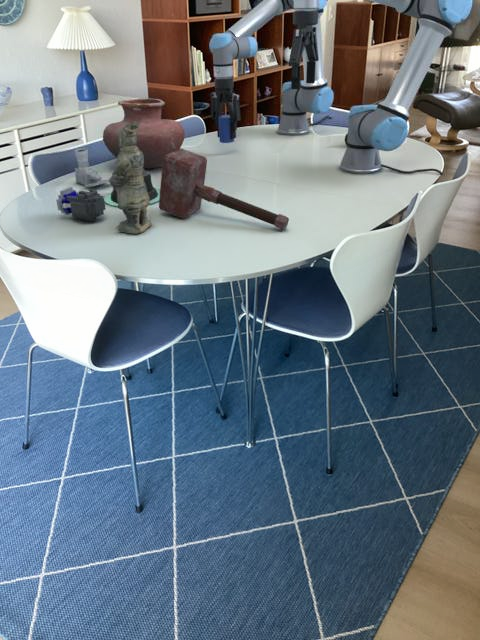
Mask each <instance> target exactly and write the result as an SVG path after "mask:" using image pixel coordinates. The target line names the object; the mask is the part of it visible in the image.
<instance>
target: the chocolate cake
mask: <svg viewBox="0 0 480 640" xmlns="http://www.w3.org/2000/svg"><path fill="white" fill-rule="evenodd" d="M113 175H114V171H112V173H111V176H113ZM143 178H144V182H145V184H146V188H147V192H148V195H149V197H150V204H154V203H157V202H159V198H160V188H156V187H154V185H153V182H152V174H151V172H149V171H148V170H146V169H145V168H143ZM103 198H104V202H105V204H108V205H109V206H115V207H118V202H117V192H116V189H115V188H114V187H112V191H111V193H108V194H107V195H106V196H104V197H103ZM150 204H149V205H150Z"/></svg>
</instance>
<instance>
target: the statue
mask: <svg viewBox="0 0 480 640" xmlns="http://www.w3.org/2000/svg"><path fill="white" fill-rule="evenodd" d="M138 127H139V123H138V122H137V121H133V122H131V123H128V124H127V125H126V126H125V127H124V128H123V129H121V130H120V133H119V138H118V140H119V147H120V151H119V154H118V156H117V158H116V160H115V164H114V169H113V172H114V175H113V176H112V175H111V176H110V177H109V182H108V183H109V184H110V186H111V187H112V188H113V187H114V188H115V189H116V192H117V202H118V206H117V209H119V210H122V213H123V214H124V215H125V218H126V219H125V220H122V221H120V222H119V224H118V225H117V231H118V232H121V233H126V234H134V235H136V234H142V233H143V232H145V231H146V230H147V229H148V228H150V227H151V226H152V225H153V223H152V220H150V219H148V216H147V214H148V213H147V212H148V211H147V209H148V206H149V205H150V197H149V195H148V192H147V188H146V184H145V182H144V178H143V169H144V168H143V166H144V156H143V153H142V151H141V150H139V149H138V147H137V146H136V143H137V138H136V131H137V130H138Z"/></svg>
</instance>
